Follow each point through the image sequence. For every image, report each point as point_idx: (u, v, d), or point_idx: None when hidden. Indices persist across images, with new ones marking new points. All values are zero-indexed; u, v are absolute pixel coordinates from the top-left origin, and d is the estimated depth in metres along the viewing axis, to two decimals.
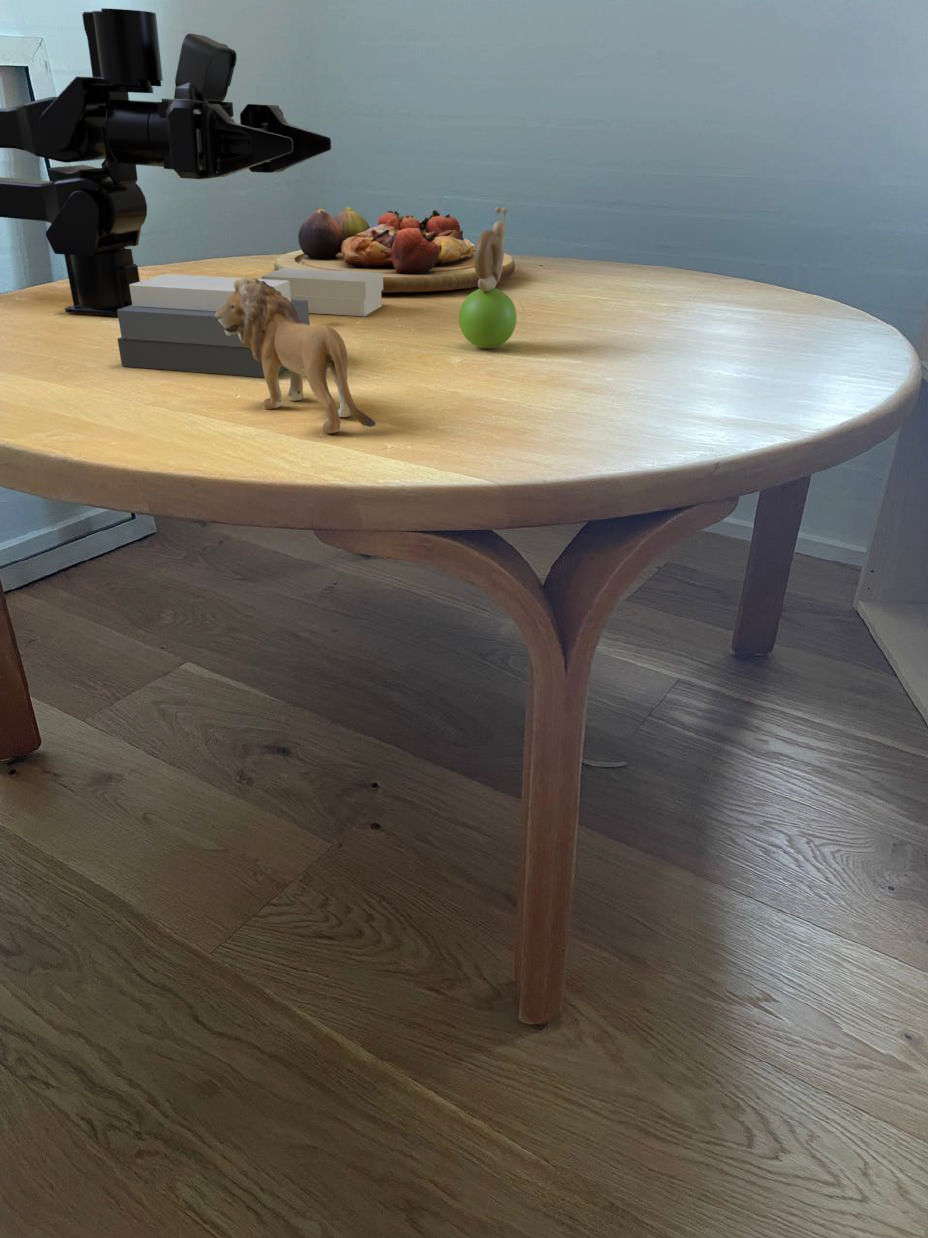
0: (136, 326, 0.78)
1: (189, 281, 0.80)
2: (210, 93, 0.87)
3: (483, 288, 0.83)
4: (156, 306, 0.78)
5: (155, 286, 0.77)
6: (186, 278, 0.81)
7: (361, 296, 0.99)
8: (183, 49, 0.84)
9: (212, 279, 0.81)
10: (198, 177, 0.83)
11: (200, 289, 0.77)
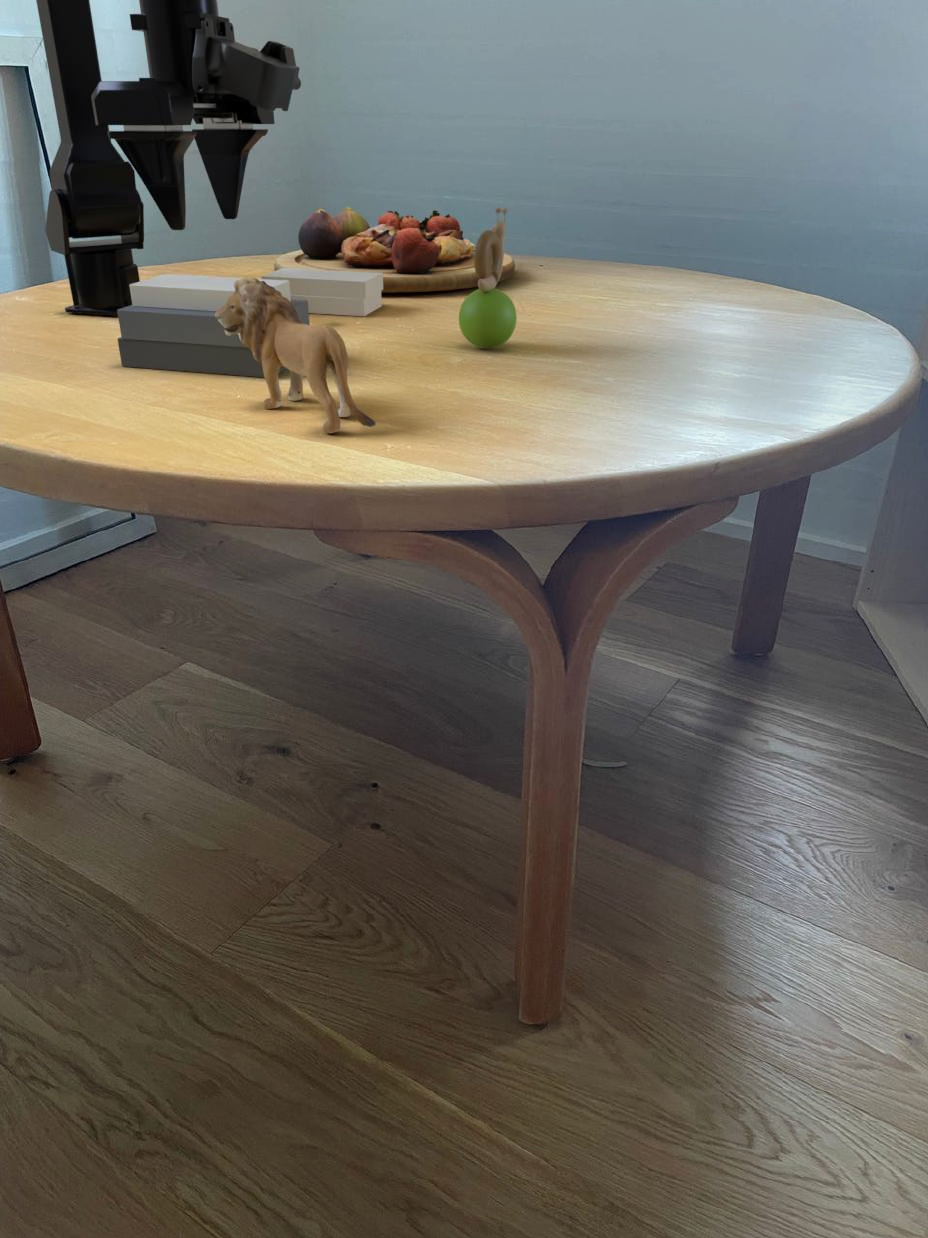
0: (136, 326, 0.78)
1: (189, 281, 0.80)
2: None
3: (483, 288, 0.83)
4: (156, 306, 0.78)
5: (155, 286, 0.77)
6: (186, 278, 0.81)
7: (361, 296, 0.99)
8: (258, 62, 0.68)
9: (212, 279, 0.81)
10: (96, 124, 0.67)
11: (200, 289, 0.77)
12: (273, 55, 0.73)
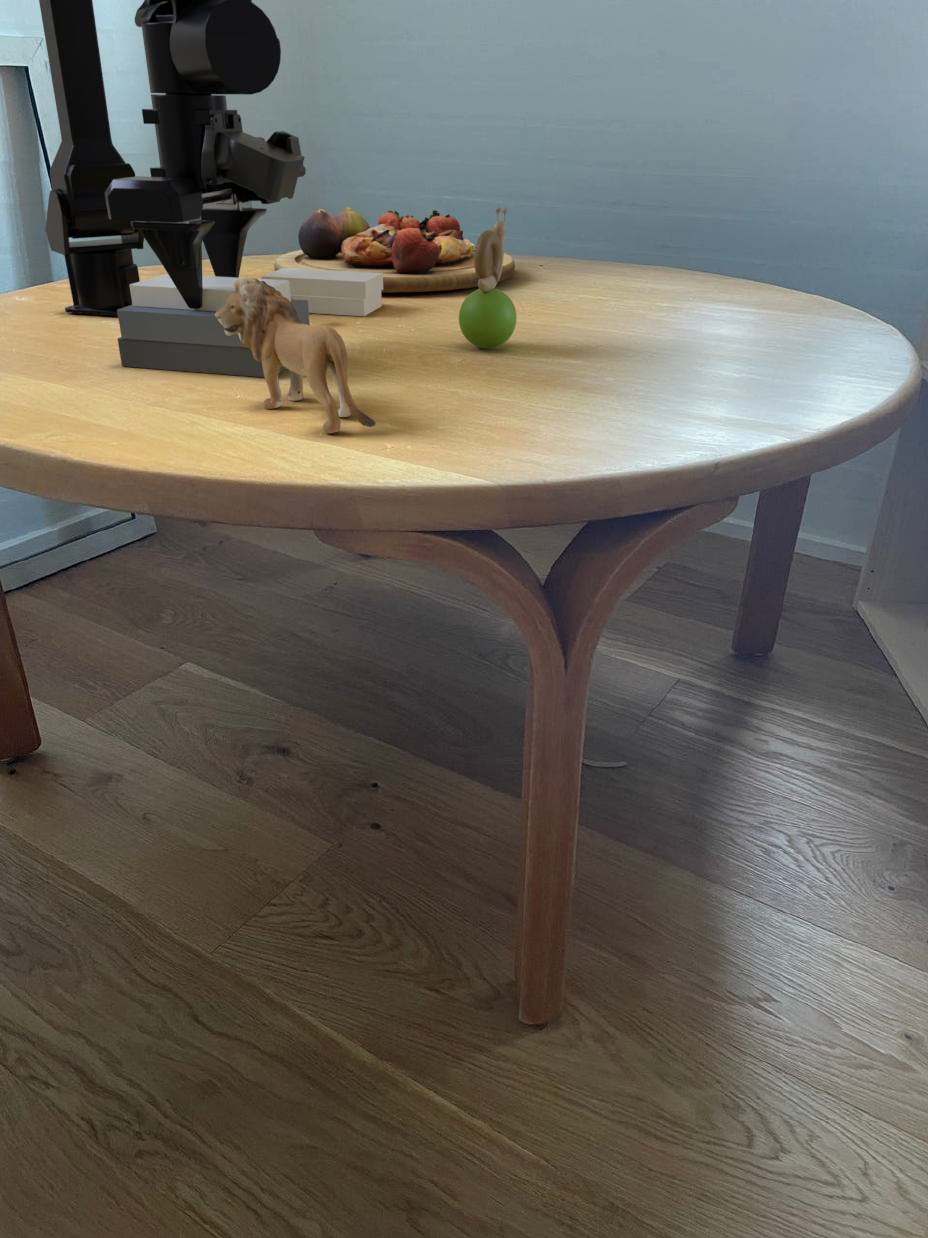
0: (136, 326, 0.78)
1: None
2: None
3: (483, 288, 0.83)
4: (156, 306, 0.78)
5: (155, 286, 0.78)
6: None
7: (361, 296, 0.99)
8: (265, 158, 0.71)
9: (212, 279, 0.81)
10: (109, 218, 0.69)
11: None
12: (279, 144, 0.76)
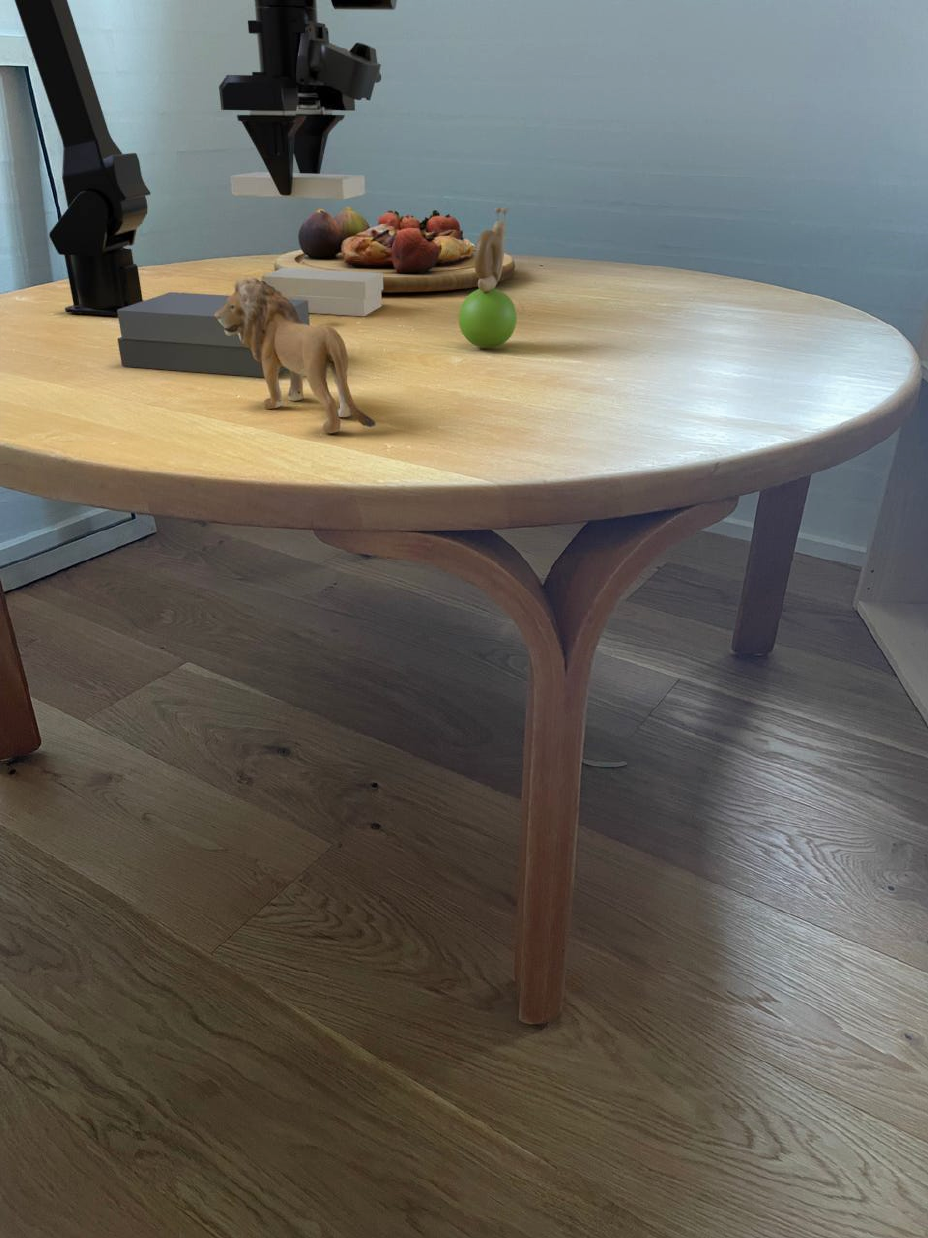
0: (136, 326, 0.78)
1: None
2: None
3: (483, 288, 0.83)
4: (253, 194, 0.92)
5: (252, 176, 0.91)
6: None
7: (361, 296, 0.99)
8: (350, 60, 0.85)
9: (298, 174, 0.94)
10: (222, 109, 0.83)
11: None
12: (359, 54, 0.89)
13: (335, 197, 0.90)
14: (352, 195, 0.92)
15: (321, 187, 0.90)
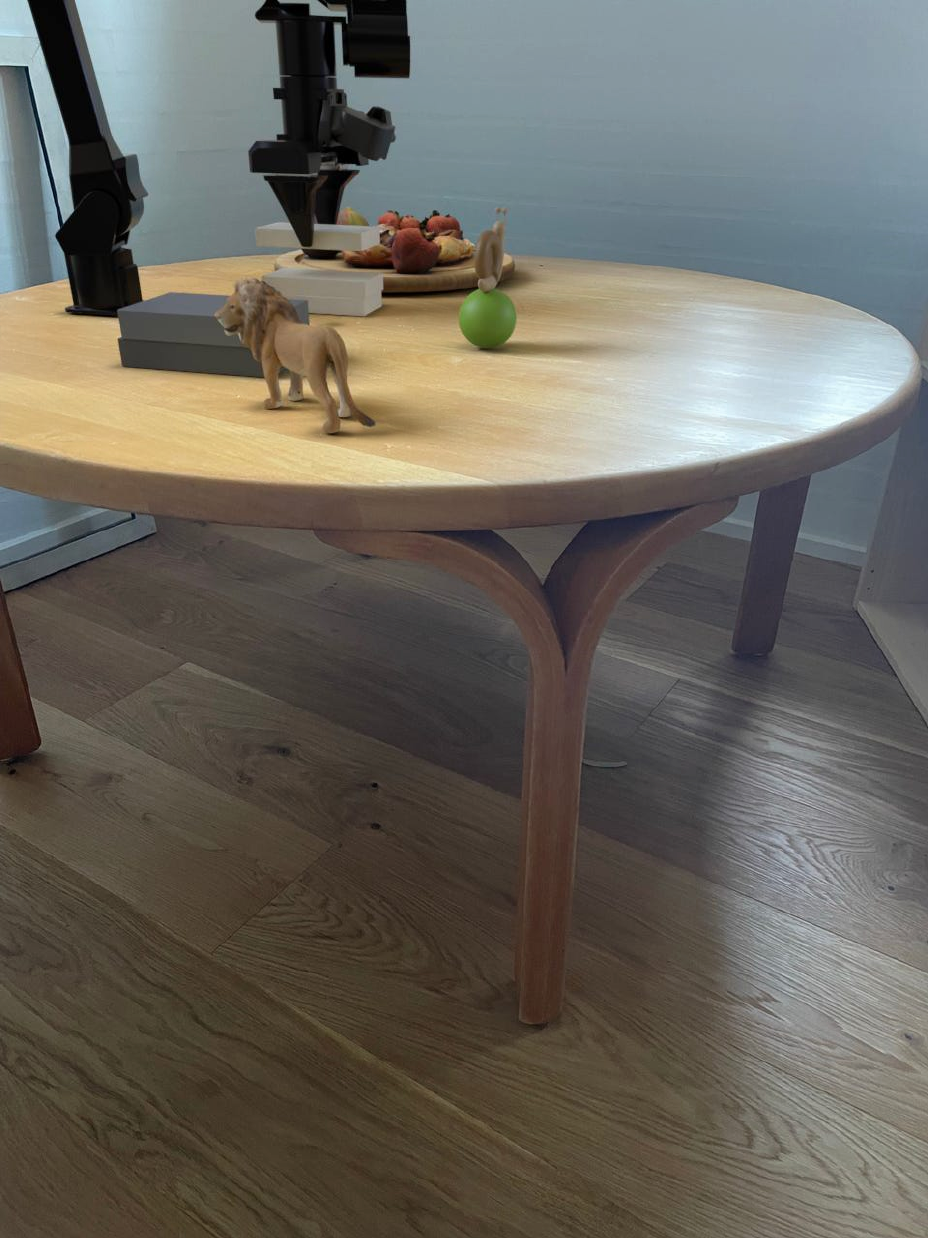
0: (136, 326, 0.78)
1: None
2: None
3: (483, 288, 0.83)
4: (276, 245, 0.99)
5: (276, 229, 0.98)
6: None
7: (361, 296, 0.99)
8: (369, 125, 0.91)
9: (317, 225, 1.01)
10: (251, 171, 0.90)
11: None
12: (375, 116, 0.96)
13: (354, 249, 0.97)
14: (369, 246, 0.99)
15: (341, 240, 0.97)
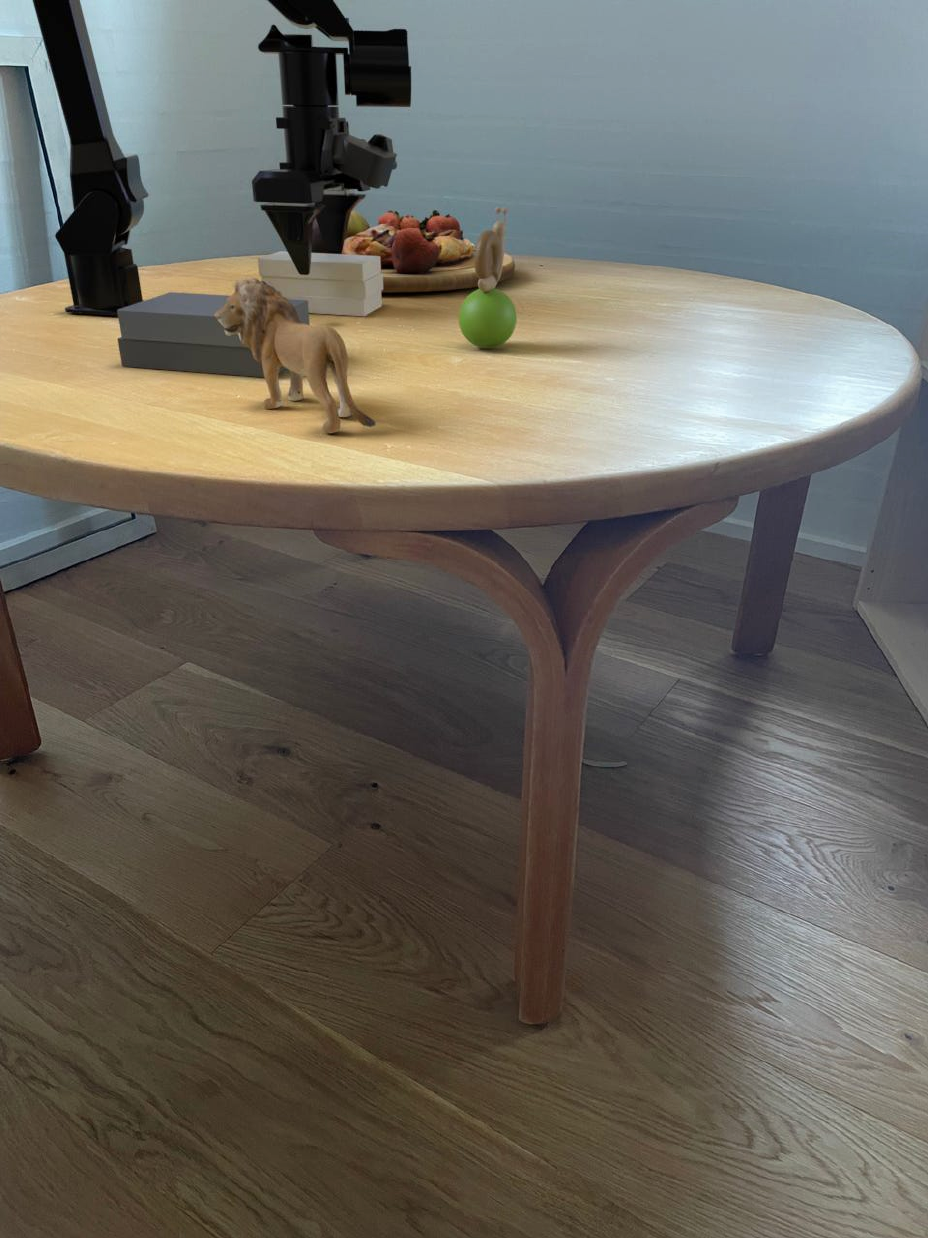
0: (136, 326, 0.78)
1: None
2: None
3: (483, 288, 0.83)
4: (278, 275, 1.00)
5: (278, 259, 0.99)
6: None
7: (361, 296, 0.99)
8: (371, 154, 0.93)
9: (319, 255, 1.02)
10: (254, 201, 0.91)
11: (314, 261, 0.98)
12: (377, 144, 0.97)
13: (355, 279, 0.98)
14: (370, 276, 1.00)
15: (343, 270, 0.98)
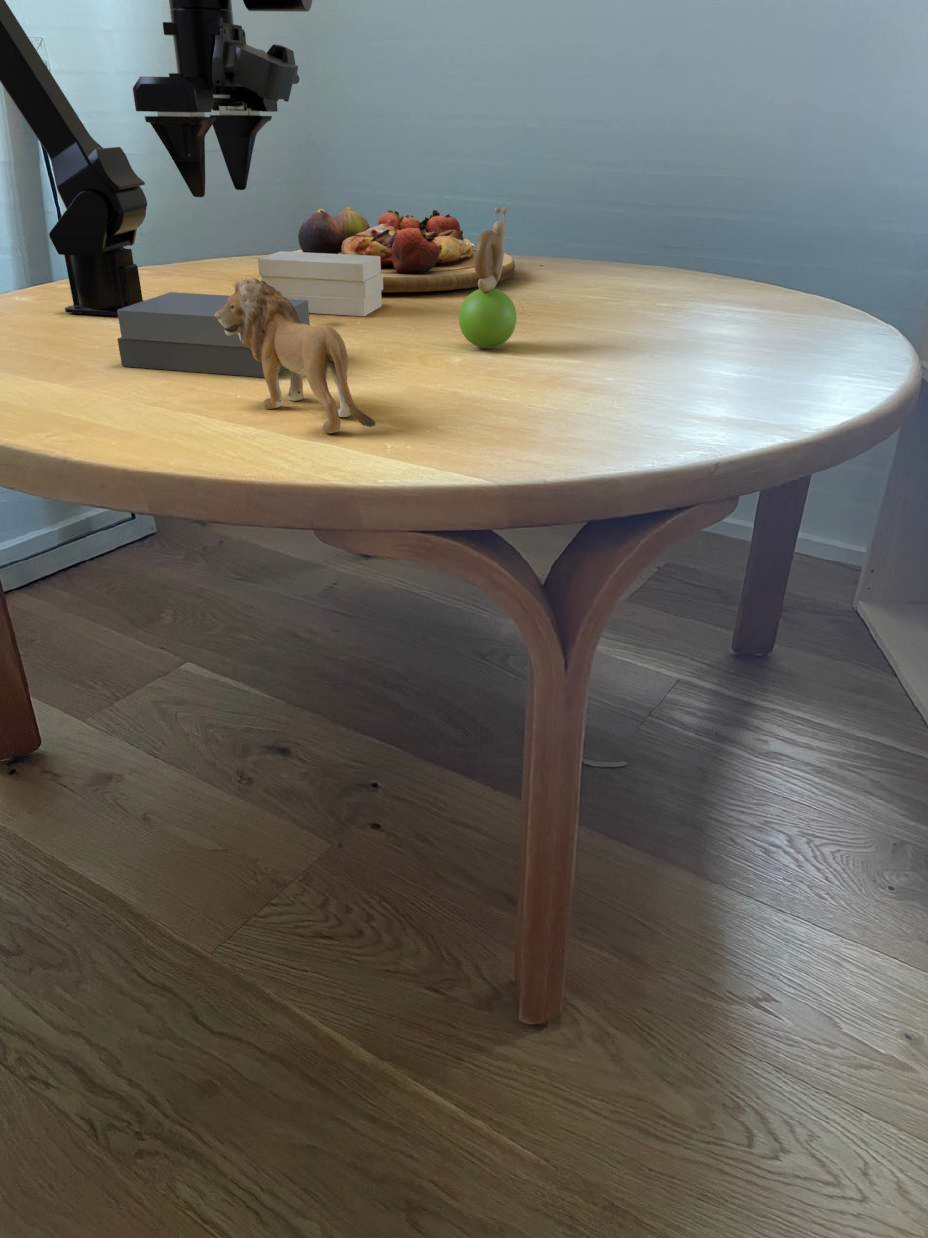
0: (136, 326, 0.78)
1: (302, 256, 1.01)
2: None
3: (483, 288, 0.83)
4: (278, 275, 1.00)
5: (278, 259, 0.99)
6: (299, 254, 1.03)
7: (361, 296, 0.99)
8: (265, 62, 0.85)
9: (319, 255, 1.02)
10: (136, 110, 0.84)
11: (314, 261, 0.98)
12: (277, 55, 0.90)
13: (355, 279, 0.98)
14: (370, 276, 1.00)
15: (343, 270, 0.98)
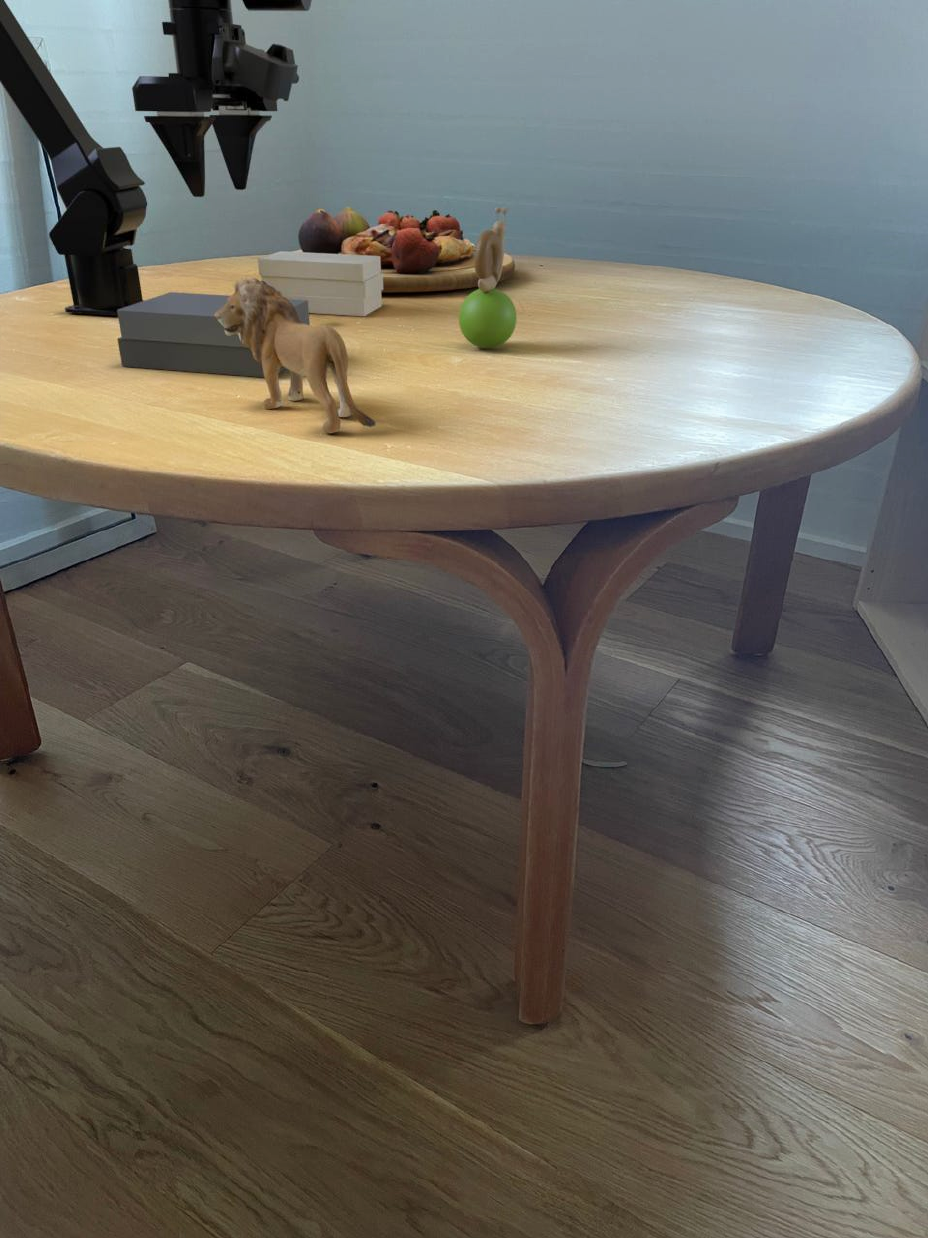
0: (136, 326, 0.78)
1: (302, 256, 1.01)
2: None
3: (483, 288, 0.83)
4: (278, 275, 1.00)
5: (278, 259, 0.99)
6: (299, 254, 1.03)
7: (361, 296, 0.99)
8: (264, 61, 0.85)
9: (319, 255, 1.02)
10: (136, 110, 0.84)
11: (314, 261, 0.98)
12: (276, 55, 0.90)
13: (355, 279, 0.98)
14: (370, 276, 1.00)
15: (343, 270, 0.98)
